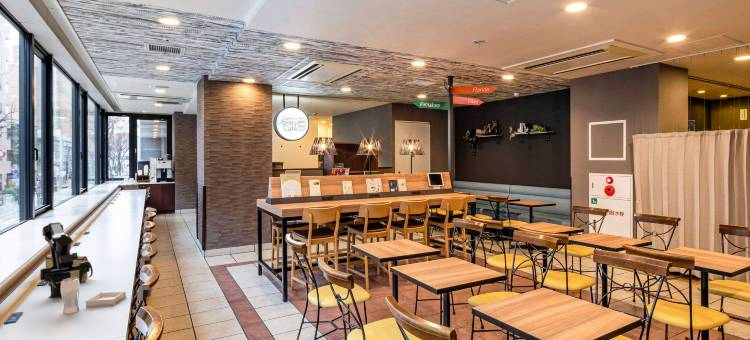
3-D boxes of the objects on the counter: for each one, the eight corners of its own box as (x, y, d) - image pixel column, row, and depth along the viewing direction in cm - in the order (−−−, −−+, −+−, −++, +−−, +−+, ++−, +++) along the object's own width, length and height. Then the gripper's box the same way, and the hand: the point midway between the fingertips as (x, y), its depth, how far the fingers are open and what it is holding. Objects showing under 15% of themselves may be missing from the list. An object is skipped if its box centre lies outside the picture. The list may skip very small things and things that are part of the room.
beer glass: (70, 315, 181) (69, 281, 181) (57, 314, 182) (56, 281, 182) (84, 309, 188) (83, 277, 187) (72, 308, 189) (70, 276, 189)
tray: (86, 307, 191) (85, 300, 191) (100, 298, 203) (99, 292, 203) (113, 305, 192) (113, 299, 192) (125, 296, 204) (125, 291, 204)
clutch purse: (96, 279, 237) (95, 253, 237) (86, 283, 231) (84, 256, 230) (54, 277, 243) (53, 252, 243) (43, 281, 236) (41, 255, 236)
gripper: (39, 251, 185) (43, 280, 177) (88, 244, 198) (94, 271, 190) (38, 265, 191) (42, 294, 183) (86, 258, 204) (91, 284, 196)
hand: (68, 285), depth 188 cm, fingers open, 9 cm apart
